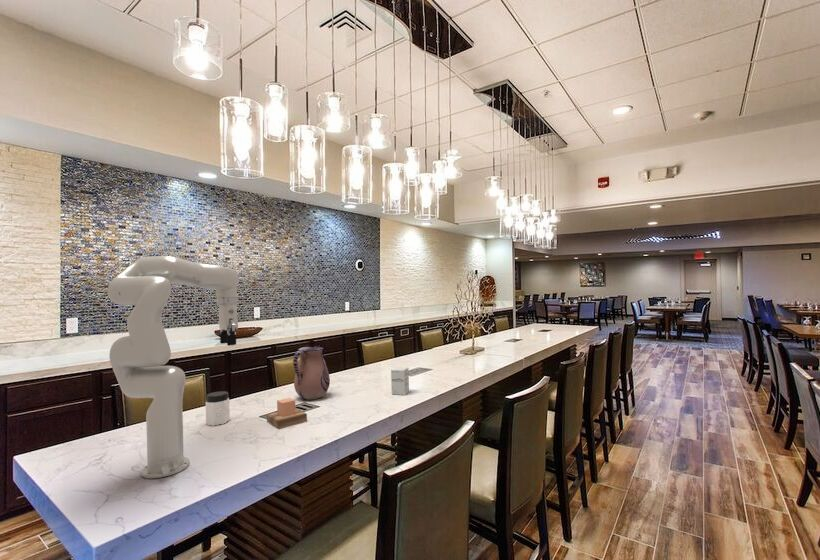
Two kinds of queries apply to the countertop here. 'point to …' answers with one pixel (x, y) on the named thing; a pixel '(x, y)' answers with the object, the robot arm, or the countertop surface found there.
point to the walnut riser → (286, 419)
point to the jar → (217, 408)
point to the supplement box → (400, 381)
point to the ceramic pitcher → (310, 373)
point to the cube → (286, 407)
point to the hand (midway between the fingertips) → (228, 344)
